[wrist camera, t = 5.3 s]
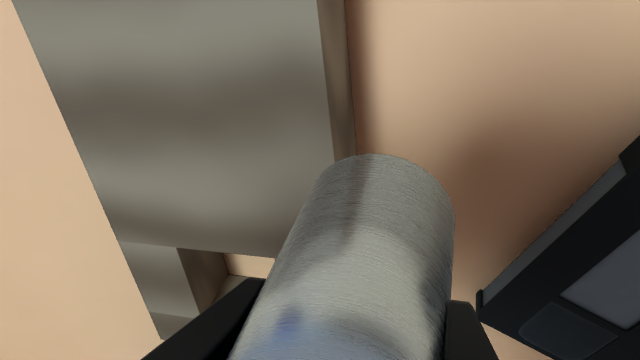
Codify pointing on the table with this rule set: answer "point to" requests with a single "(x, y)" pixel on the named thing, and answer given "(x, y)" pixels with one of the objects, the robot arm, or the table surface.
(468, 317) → the robot arm
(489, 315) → the vhs tape
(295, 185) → the hitch block
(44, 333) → the table surface
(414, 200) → the steel peg
